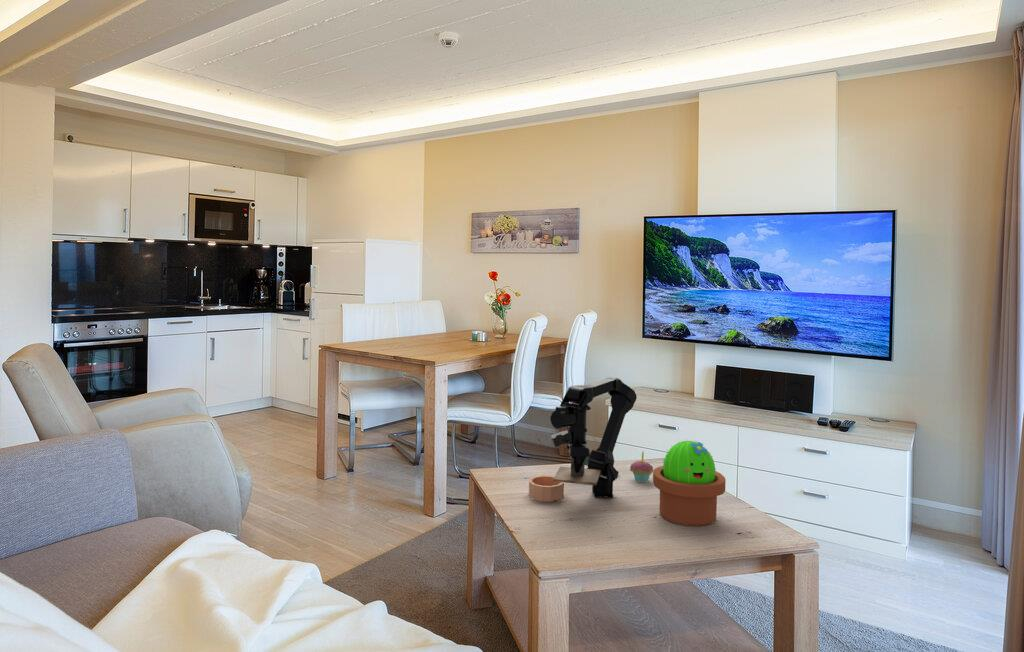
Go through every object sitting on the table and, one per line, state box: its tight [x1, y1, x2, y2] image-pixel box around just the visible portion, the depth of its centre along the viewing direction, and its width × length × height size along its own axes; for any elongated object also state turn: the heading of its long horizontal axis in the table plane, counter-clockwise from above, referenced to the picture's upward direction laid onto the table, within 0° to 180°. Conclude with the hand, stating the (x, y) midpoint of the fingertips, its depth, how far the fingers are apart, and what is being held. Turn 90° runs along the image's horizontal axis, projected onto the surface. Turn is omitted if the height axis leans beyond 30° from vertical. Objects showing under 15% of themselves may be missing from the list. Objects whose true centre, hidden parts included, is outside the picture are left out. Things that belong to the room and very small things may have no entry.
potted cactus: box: [652, 439, 727, 527], centre depth 200 cm, size 22×22×25 cm
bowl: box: [528, 475, 565, 502], centre depth 218 cm, size 12×12×5 cm
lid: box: [553, 457, 601, 486], centre depth 208 cm, size 14×14×6 cm
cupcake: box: [629, 451, 654, 483], centre depth 235 cm, size 9×8×12 cm
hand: (576, 470), depth 209 cm, fingers closed on lid, 4 cm apart
